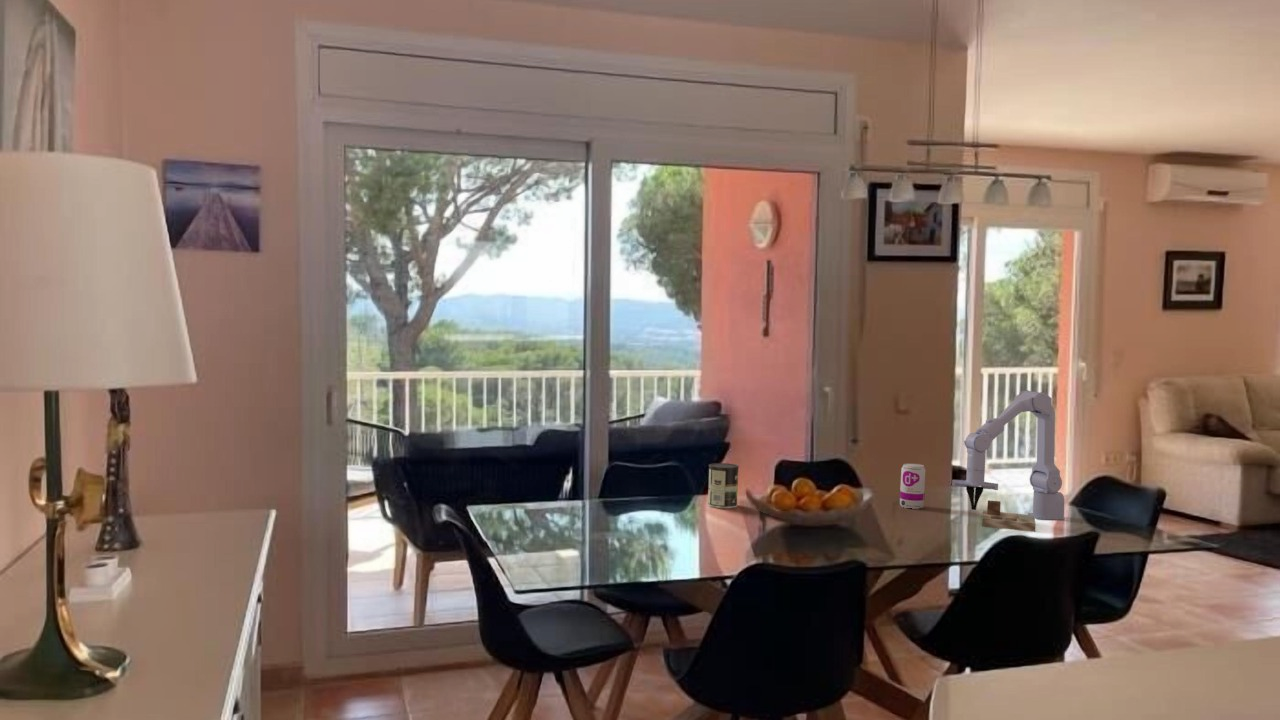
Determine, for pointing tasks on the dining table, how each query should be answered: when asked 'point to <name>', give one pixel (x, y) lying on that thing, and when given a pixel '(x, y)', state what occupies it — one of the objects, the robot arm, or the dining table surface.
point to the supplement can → (912, 486)
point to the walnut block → (993, 507)
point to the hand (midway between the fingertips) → (973, 509)
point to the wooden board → (1007, 521)
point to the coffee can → (723, 485)
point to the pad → (1026, 517)
